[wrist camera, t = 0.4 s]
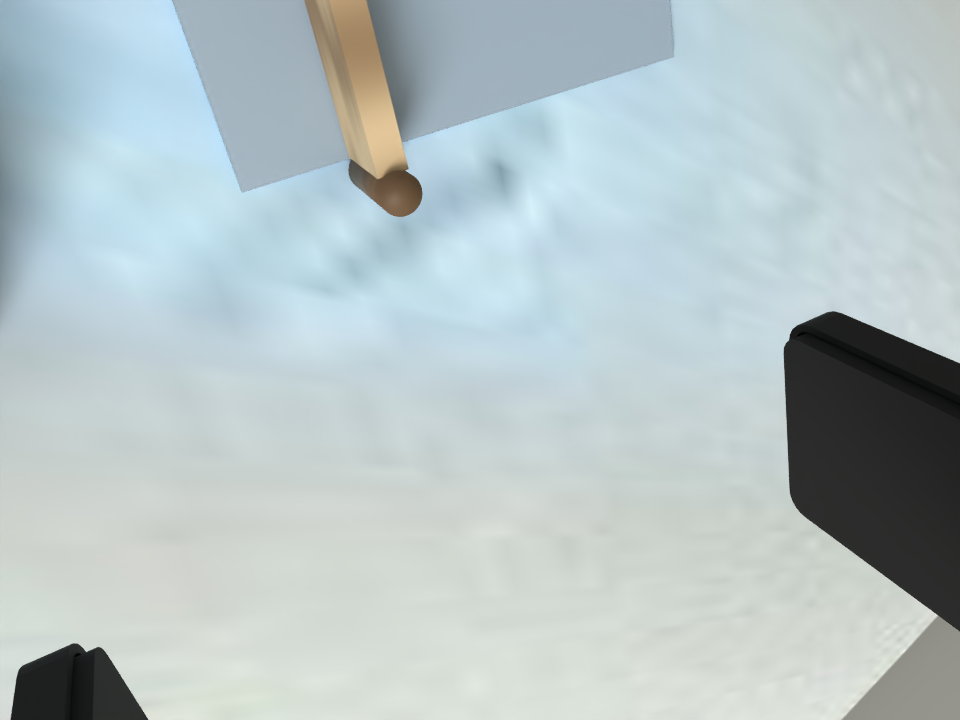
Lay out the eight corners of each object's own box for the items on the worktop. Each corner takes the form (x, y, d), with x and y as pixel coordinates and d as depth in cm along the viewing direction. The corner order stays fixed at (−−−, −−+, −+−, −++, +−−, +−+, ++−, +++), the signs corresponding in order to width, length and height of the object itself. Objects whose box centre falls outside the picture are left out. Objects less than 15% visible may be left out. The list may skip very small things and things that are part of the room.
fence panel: (271, -94, 28) (297, -104, 24) (315, -105, 28) (347, -115, 25) (355, 194, 33) (386, 222, 29) (391, 182, 34) (426, 208, 30)
